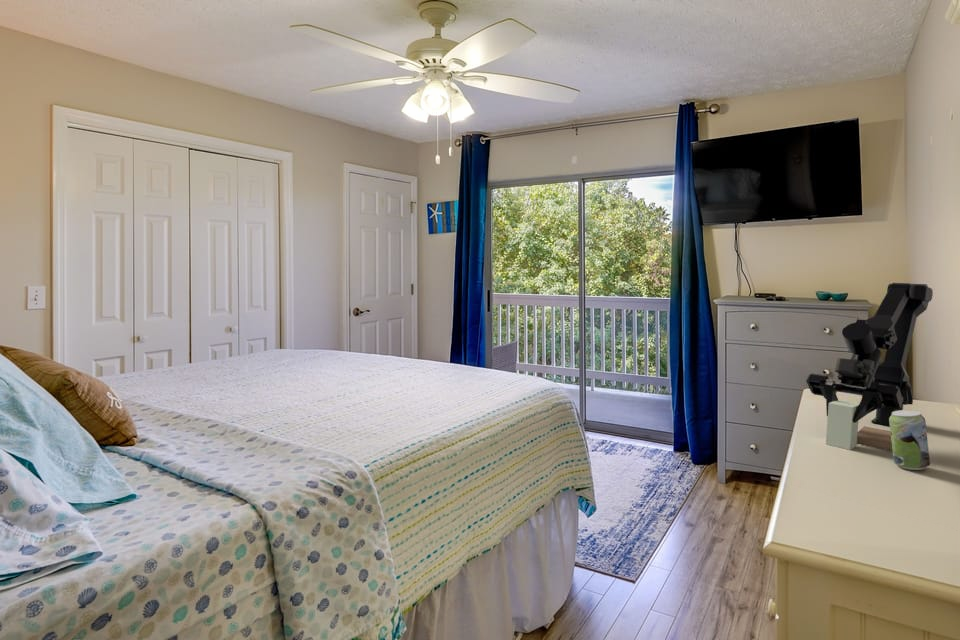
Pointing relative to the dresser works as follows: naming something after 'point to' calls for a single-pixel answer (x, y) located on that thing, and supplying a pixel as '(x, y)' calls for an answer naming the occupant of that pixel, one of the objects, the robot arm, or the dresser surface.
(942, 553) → the dresser surface
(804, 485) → the dresser surface
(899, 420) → the beverage can
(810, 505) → the dresser surface
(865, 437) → the walnut block
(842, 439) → the sage block
